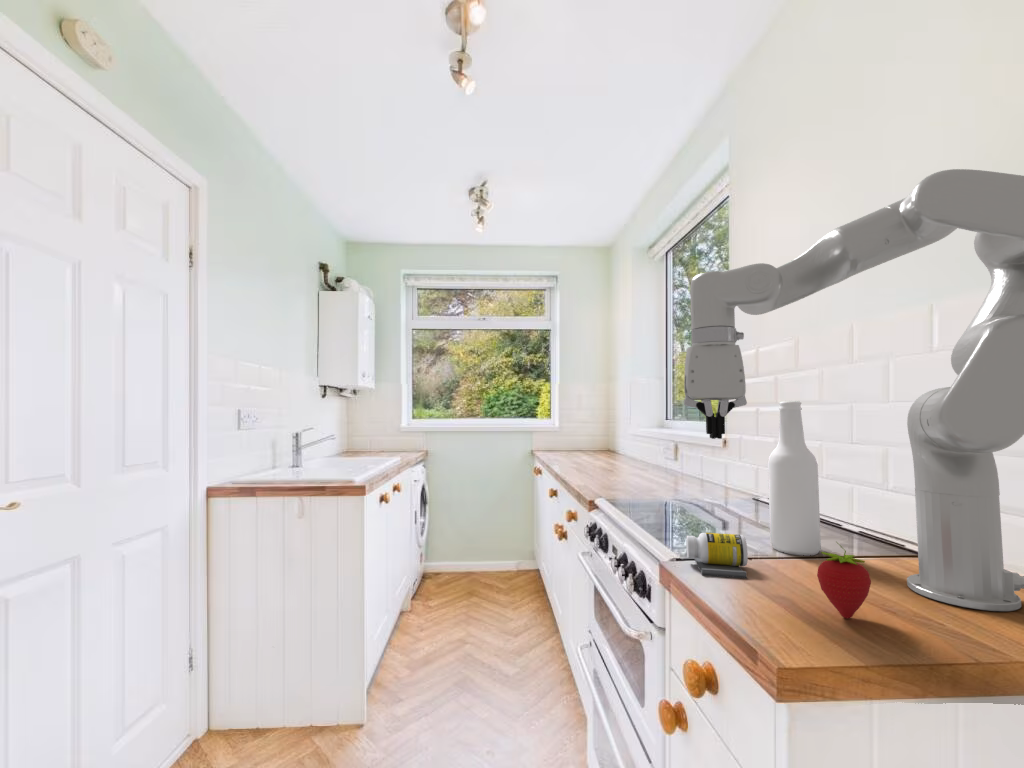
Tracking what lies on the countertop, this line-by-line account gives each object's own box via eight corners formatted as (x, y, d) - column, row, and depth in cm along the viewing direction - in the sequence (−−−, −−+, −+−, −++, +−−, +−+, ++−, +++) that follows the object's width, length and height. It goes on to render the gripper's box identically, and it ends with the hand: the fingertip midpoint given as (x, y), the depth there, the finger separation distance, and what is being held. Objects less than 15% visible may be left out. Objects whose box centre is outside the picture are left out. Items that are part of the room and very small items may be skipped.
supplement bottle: (748, 540, 83) (688, 538, 85) (748, 571, 83) (689, 567, 85) (741, 530, 88) (685, 527, 90) (742, 558, 88) (686, 555, 91)
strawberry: (810, 618, 65) (807, 543, 65) (830, 604, 69) (827, 534, 70) (862, 633, 60) (859, 553, 61) (880, 617, 65) (876, 542, 65)
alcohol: (773, 553, 94) (768, 401, 96) (768, 542, 102) (763, 402, 104) (825, 558, 91) (819, 400, 92) (816, 546, 99) (810, 401, 100)
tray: (730, 557, 92) (730, 551, 92) (746, 578, 80) (746, 572, 80) (692, 554, 93) (692, 549, 93) (702, 575, 82) (702, 569, 82)
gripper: (751, 341, 91) (754, 437, 90) (669, 343, 94) (671, 436, 93) (762, 334, 84) (766, 440, 82) (673, 338, 87) (675, 439, 86)
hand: (715, 438), depth 88 cm, fingers closed
